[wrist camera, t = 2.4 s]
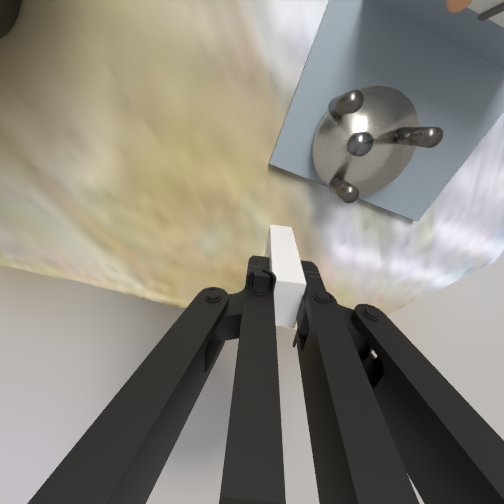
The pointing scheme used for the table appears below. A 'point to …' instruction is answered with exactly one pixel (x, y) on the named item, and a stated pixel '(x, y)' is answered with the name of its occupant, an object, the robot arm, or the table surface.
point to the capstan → (368, 140)
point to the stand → (404, 84)
